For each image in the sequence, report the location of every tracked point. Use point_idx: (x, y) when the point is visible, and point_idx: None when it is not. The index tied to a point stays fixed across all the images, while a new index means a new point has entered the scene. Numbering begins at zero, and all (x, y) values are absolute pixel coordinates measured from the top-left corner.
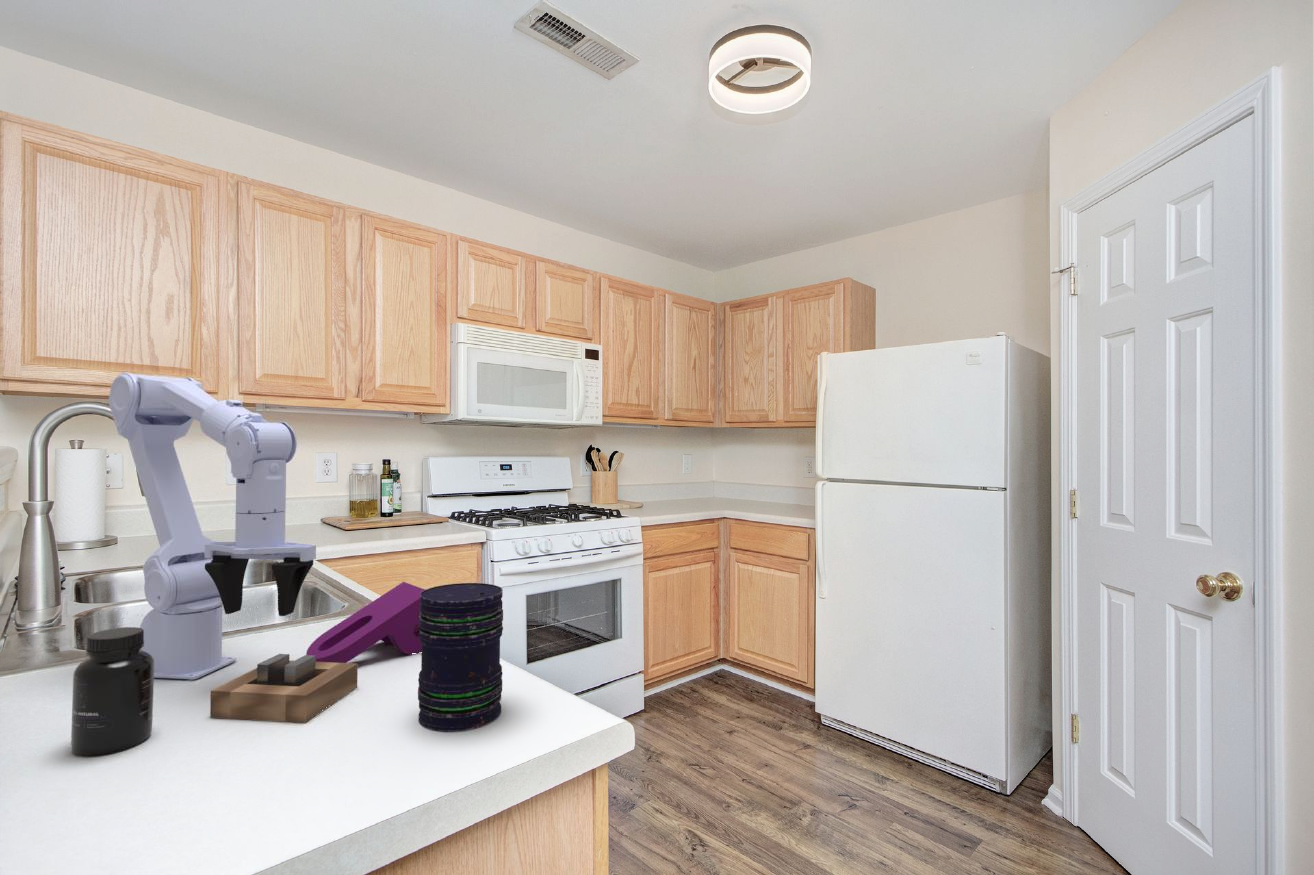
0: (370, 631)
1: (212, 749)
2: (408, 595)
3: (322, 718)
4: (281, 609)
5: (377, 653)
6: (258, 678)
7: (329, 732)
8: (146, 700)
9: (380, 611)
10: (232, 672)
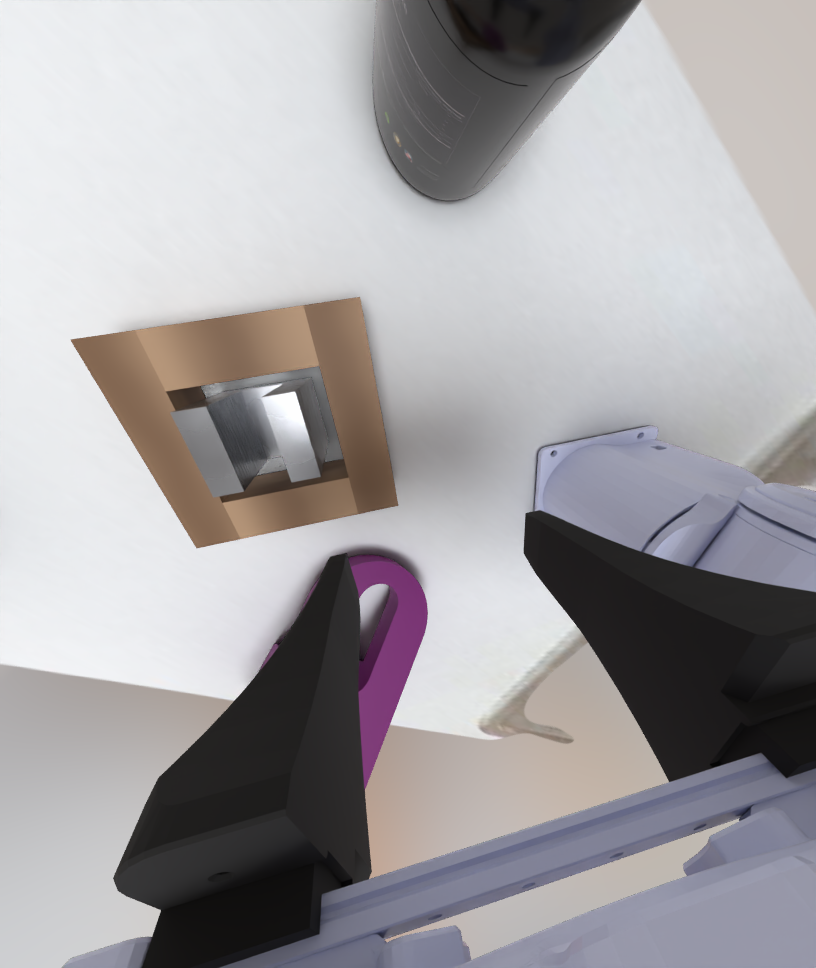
0: None
1: (171, 127)
2: None
3: None
4: (328, 568)
5: None
6: (297, 386)
7: (6, 309)
8: (383, 35)
9: None
10: (504, 497)
